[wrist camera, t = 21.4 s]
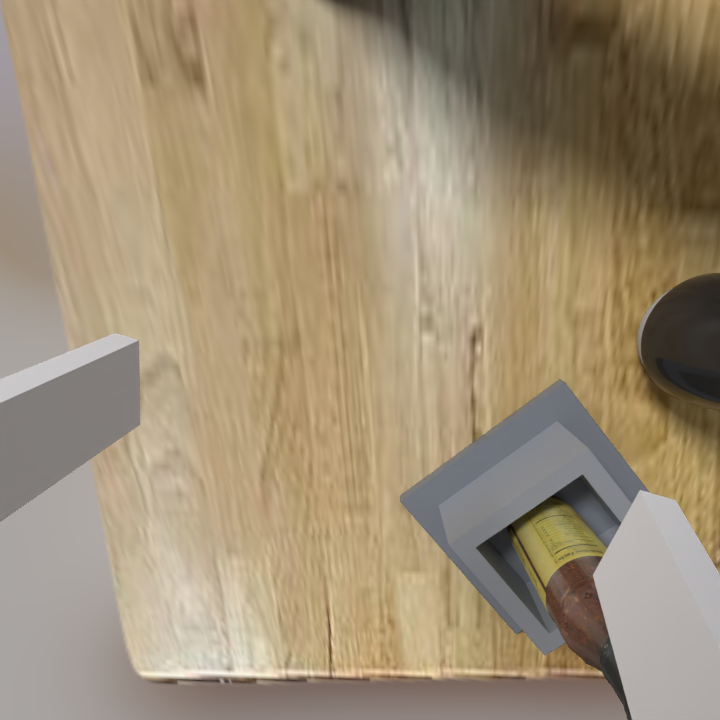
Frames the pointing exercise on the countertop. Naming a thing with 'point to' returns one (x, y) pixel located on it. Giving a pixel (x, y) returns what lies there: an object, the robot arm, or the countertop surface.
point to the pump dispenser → (685, 341)
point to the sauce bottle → (568, 580)
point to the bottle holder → (523, 499)
